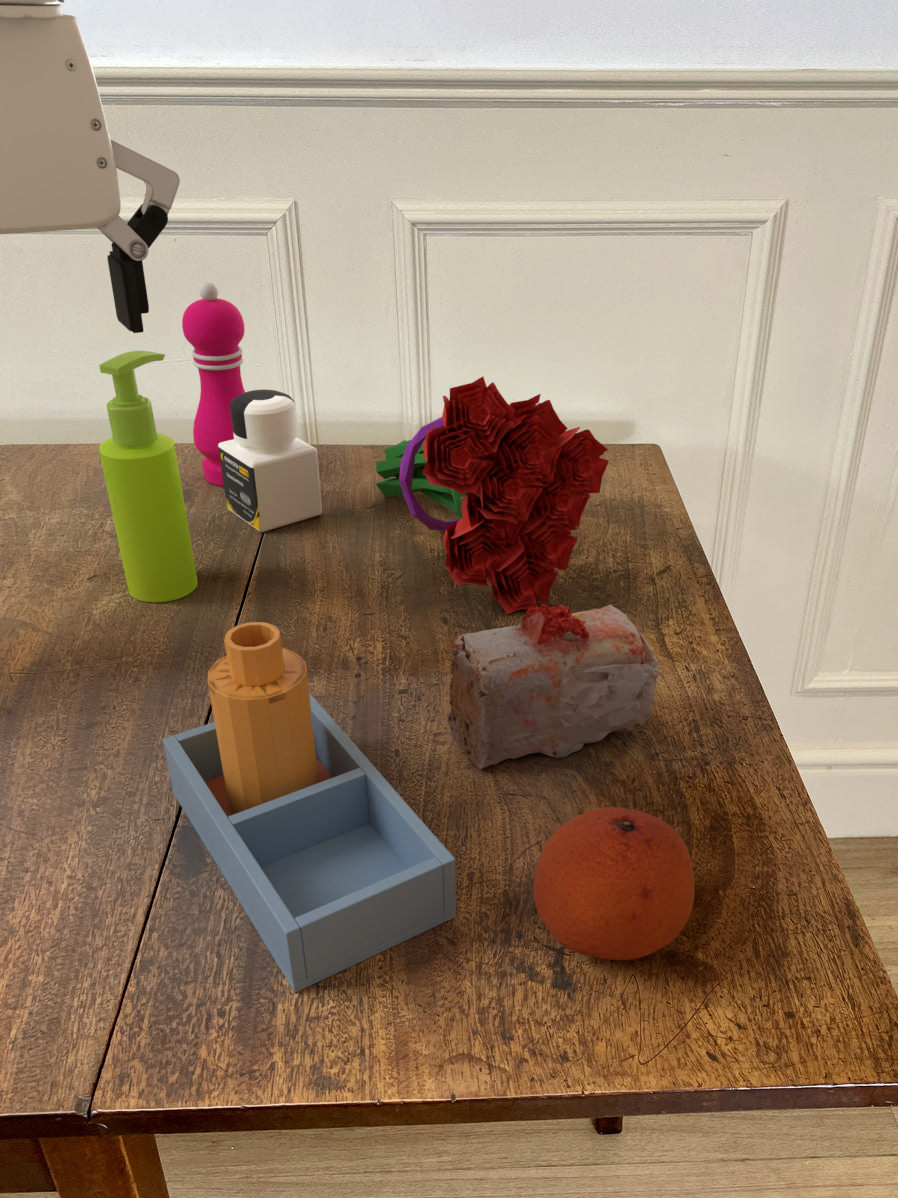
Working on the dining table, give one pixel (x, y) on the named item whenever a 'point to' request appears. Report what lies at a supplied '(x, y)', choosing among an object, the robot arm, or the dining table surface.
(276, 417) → the medicine bottle
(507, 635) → the food item
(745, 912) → the dining table surface
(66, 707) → the dining table surface
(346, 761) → the tray
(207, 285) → the pepper mill
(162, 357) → the soap dispenser
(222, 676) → the bottle
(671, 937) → the fruit
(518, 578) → the bouquet
